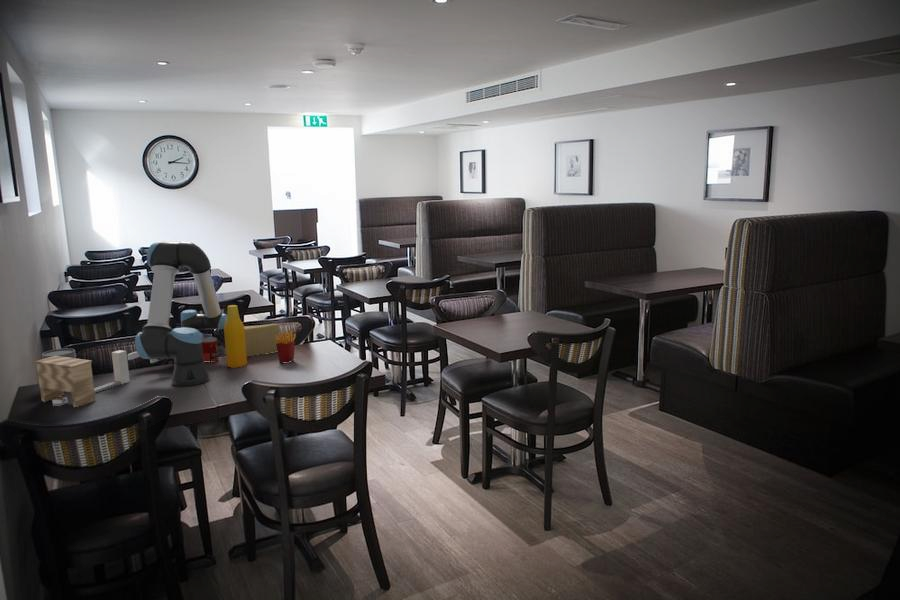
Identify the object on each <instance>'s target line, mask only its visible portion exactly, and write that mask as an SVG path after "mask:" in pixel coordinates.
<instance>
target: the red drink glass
mask: <svg viewBox="0 0 900 600" xmlns="http://www.w3.org/2000/svg"><path fill="white" fill-rule="evenodd" d="M202 349H203V361H210V362H211V361H216V362H218V361H219V360H218V359H220V356H219V345H218V338H217V337H215V336H214V337H213V336H210V337H204V338H202Z"/></svg>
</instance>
